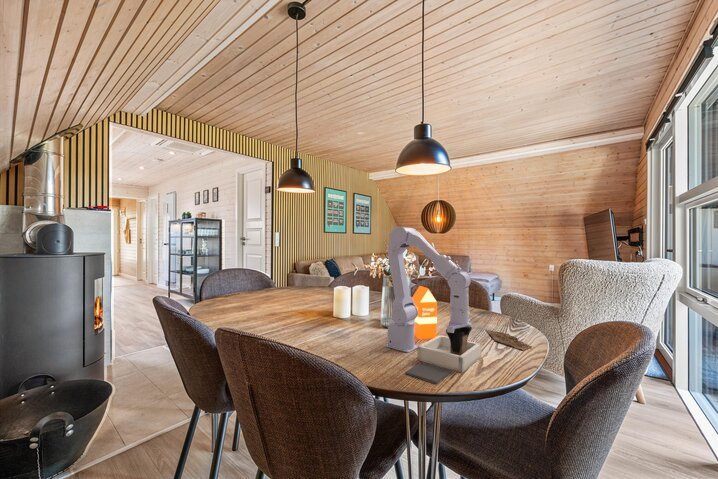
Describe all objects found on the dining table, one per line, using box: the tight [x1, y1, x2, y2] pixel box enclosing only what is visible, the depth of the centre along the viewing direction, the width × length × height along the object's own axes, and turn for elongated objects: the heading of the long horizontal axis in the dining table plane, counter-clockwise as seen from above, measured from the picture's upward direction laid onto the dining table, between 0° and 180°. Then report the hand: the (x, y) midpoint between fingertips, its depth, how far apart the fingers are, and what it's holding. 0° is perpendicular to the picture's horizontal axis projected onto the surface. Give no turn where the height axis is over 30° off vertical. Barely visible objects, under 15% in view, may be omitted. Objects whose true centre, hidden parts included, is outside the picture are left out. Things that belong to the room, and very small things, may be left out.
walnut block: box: [450, 334, 468, 355], centre depth 104 cm, size 4×4×6 cm
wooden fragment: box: [485, 329, 533, 352], centre depth 127 cm, size 26×11×1 cm, turn 4°
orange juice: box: [411, 285, 438, 340], centre depth 131 cm, size 8×9×20 cm
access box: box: [417, 334, 482, 373], centre depth 106 cm, size 15×16×4 cm
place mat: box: [404, 361, 453, 385], centre depth 94 cm, size 10×10×1 cm
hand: (458, 349), depth 104 cm, fingers closed on walnut block, 4 cm apart
